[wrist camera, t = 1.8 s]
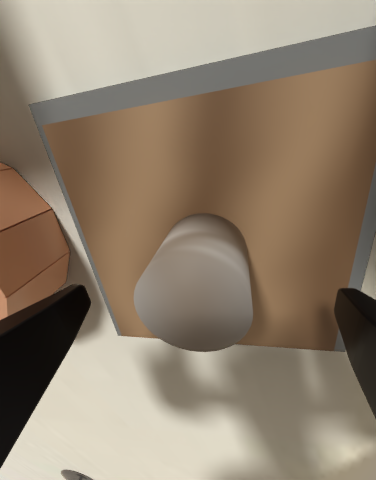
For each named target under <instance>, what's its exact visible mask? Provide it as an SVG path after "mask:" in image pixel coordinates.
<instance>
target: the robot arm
mask: <svg viewBox="0 0 376 480" xmlns="http://www.w3.org/2000/svg"><path fill="white" fill-rule="evenodd" d="M90 305H91V300H90V298H89V295H88V293H87V291H86V288H85V287H84V286H83V285H71V286H69V287H67V288H65V289H63V290H61V291H59V292H57V293H55V294H52V295H50V296H48V297H46V298H44V299H42V300H40V301H38V302H36V303H34V304H32V305H30V306H28V307H26V308H24V309H22V310H20V311H18V312H16V313H14V314H12V315H9V316H7V317H5V318H3V319H1V320H0V468H1V466H2V465H3V463H4V461H5V460H6V458H7V456H8V454H9V453H10V451H11V449H12V447H13V446H14V444H15V442H16V441H17V439H18V437H19V435H20V434H21V432H22V430H23V429H24V427H25V425H26V423H27V422H28V420H29V418H30V416H31V415H32V413H33V411H34V410H35V408H36V406H37V404H38V403H39V401H40V399H41V397H42V396H43V394H44V392H45V391H46V389H47V387H48V385H49V384H50V382H51V380H52V378H53V377H54V375H55V373H56V372H57V370H58V368H59V366H60V365H61V363H62V361H63V359H64V358H65V356H66V354H67V353H68V351H69V349H70V347H71V345H72V344H73V342H74V340H75V338H76V336H77V334H78V331H79V329H80V327H81V325H82V323H83V321H84V319H85V317H86V314H87V312H88V310H89V308H90ZM334 315H335V318H336V321H337V324H338V327H339V330H340V333H341V336H342V339H343V342H344V345H345V348H346V351H347V354H348V357H349V360H350V363H351V365H352V368H353V370H354V372H355V375H356V377H357V379H358V381H359V383H360V386H361V388H362V390H363V392H364V394H365V396H366V399H367V401H368V403H369V405H370V407H371V409H372V412H373V414H374V416H375V418H376V300H375V299H373V298H371V297H370V296H368V295H366V294H364V293H363V292H361V291H359V290H358V289H355V288H340V289H338V291H337V296H336V301H335V306H334Z"/></svg>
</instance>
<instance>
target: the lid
mask: <svg viewBox="0 0 376 480" xmlns="http://www.w3.org/2000/svg"><path fill="white" fill-rule="evenodd" d="M42 127H43V129H44V132H45V135H46V137H47V140H48V143H49V145H50V148H51V151H52V153H53V156H54V159H55V161H56V164H57V166H58V169H59V172H60V174H61V177H62V180H63V182H64V185H65V188H66V190H67V193H68V195H69V198H70V201H71V203H72V206H73V209H74V211H75V214H76V217H77V219H78V222H79V224H80V227H81V230H82V232H83V235H84V238H85V240H86V243H87V246H88V248H89V251H90V254H91V256H92V259H93V261H94V264H95V267H96V269H97V272H98V275H99V277H100V280H101V283H102V285H103V288H104V290H105V293H106V296H107V298H108V301H109V304H110V306H111V309H112V312H113V314H114V317H115V319H116V322H117V325H118V327H119V330H120V333H121V335H122V336H131V337H144V338H158V339H161V340H163V341H165V342H167V343H169V344H171V345H173V346H176V347H178V348H182V349H185V350H190V351H198V352H209V351H217V350H221V349H225V348H227V347H230V346H232V345H234V344H242V345H256V346H270V347H284V348H297V349H311V350H325V351H334V348H335V344H336V339H337V335H338V330H339V327H338V324H337V321H336V318H335V315H334V306H335V301H336V296H337V291H338V289H340V288H348V285H349V281H350V276H351V272H352V267H353V263H354V258H355V254H356V250H357V245H358V241H359V236H360V232H361V227H362V223H363V218H364V214H365V209H366V205H367V200H368V196H369V191H370V187H371V182H372V178H373V173H374V169H375V164H376V60H372V61H367V62H361V63H356V64H351V65H346V66H341V67H336V68H331V69H326V70H321V71H316V72H311V73H305V74H300V75H295V76H290V77H285V78H280V79H275V80H270V81H265V82H260V83H255V84H250V85H244V86H239V87H234V88H229V89H224V90H219V91H214V92H209V93H204V94H199V95H194V96H188V97H183V98H178V99H173V100H168V101H163V102H158V103H153V104H148V105H143V106H138V107H132V108H127V109H122V110H117V111H112V112H107V113H102V114H97V115H92V116H87V117H82V118H77V119H71V120H66V121H61V122H56V123H51V124H46V125H42Z"/></svg>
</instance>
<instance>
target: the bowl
mask: <svg viewBox="0 0 376 480" xmlns="http://www.w3.org/2000/svg"><path fill="white" fill-rule="evenodd" d="M50 209H51V207H50V206H49V205H48V204H47V203H46V202H45V201H44V200H43V199H42V198H41V197H40V196H39V195H38V194H37V193H36V192H35V191H34V189H33V188H32V187H31V186H30V185H29V184H28V183H27V182H26V181H25V180H24V179H23V178H22V177H21V176H20V175H19V174H18V173H17V172H16V171H15V170H14V169H12V167H9V166H7V165H5V164H3V163H1V162H0V320H1V319H3V318H5V317H7V316H9V315H12V314H14V313H16V312H18V311H20V310H22V309H24V308H26V307H28V306H30V305H32V304H34V303H36V302H38V301H40V300H42V299H44V298H46V297H48V296H50V295H52V294H53V293H55V292H56V291H57V290H58V289H59V288H60V287H61V286H62V285H63V284H64V283H66V278H67V271H68V263H69V256H70V252H69V251H70V250H69V247H68V245H67V243H66V240H65V238H64V236H63V233H62V231H61V229H60V226H59V224H58V221H57V219H56V217H55V214H54V212H53V210H50Z"/></svg>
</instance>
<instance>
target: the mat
mask: <svg viewBox="0 0 376 480" xmlns="http://www.w3.org/2000/svg"><path fill="white" fill-rule="evenodd" d="M372 60H376V26H372V27H367V28H363V29H359V30H354V31H350V32H345V33H341V34H337V35H332V36H328V37H323V38H319V39H315V40H310V41H306V42H301V43H297V44H293V45H288V46H284V47H279V48H275V49H271V50H266V51H262V52H258V53H253V54H249V55H244V56H240V57H236V58H231V59H227V60H222V61H218V62H214V63H209V64H205V65H200V66H196V67H192V68H187V69H183V70H178V71H174V72H170V73H165V74H161V75H156V76H152V77H148V78H143V79H139V80H135V81H130V82H126V83H121V84H117V85H113V86H108V87H104V88H99V89H95V90H91V91H86V92H82V93H77V94H73V95H69V96H64V97H60V98H55V99H51V100H47V101H42V102H38V103H33V104H29V107H30V110H31V112H32V115H33V118H34V120H35V123H36V125H37V128H38V130H39V133H40V136H41V138H42V141H43V143H44V146H45V148H46V151H47V154H48V156H49V159H50V161H51V164H52V167H53V169H54V172H55V174H56V177H57V179H58V182H59V185H60V187H61V190H62V192H63V195H64V197H65V200H66V203H67V205H68V208H69V210H70V213H71V215H72V218H73V221H74V223H75V226H76V228H77V231H78V233H79V236H80V239H81V241H82V244H83V246H84V249H85V251H86V254H87V257H88V259H89V262H90V264H91V267H92V269H93V272H94V275H95V277H96V280H97V282H98V285H99V287H100V290H101V293H102V295H103V298H104V300H105V303H106V305H107V308H108V311H109V313H110V316H111V318H112V321H113V324H114V326H115V329H116V331H117V334H118V336H122V335H121V333H120V330H119V327H118V325H117V322H116V319H115V317H114V314H113V312H112V309H111V306H110V304H109V301H108V298H107V296H106V293H105V290H104V288H103V285H102V283H101V280H100V277H99V275H98V272H97V269H96V267H95V264H94V261H93V259H92V256H91V254H90V251H89V248H88V246H87V243H86V240H85V238H84V235H83V232H82V230H81V227H80V224H79V222H78V219H77V217H76V214H75V211H74V209H73V206H72V203H71V201H70V198H69V195H68V193H67V190H66V188H65V185H64V182H63V180H62V177H61V174H60V172H59V169H58V166H57V164H56V161H55V159H54V156H53V153H52V151H51V148H50V145H49V143H48V140H47V137H46V135H45V132H44V129H43V127H42V125H46V124H51V123H56V122H61V121H66V120H71V119H77V118H82V117H87V116H92V115H97V114H102V113H107V112H112V111H117V110H122V109H127V108H132V107H138V106H143V105H148V104H153V103H158V102H163V101H168V100H173V99H178V98H183V97H188V96H194V95H199V94H204V93H209V92H214V91H219V90H224V89H229V88H234V87H239V86H244V85H250V84H255V83H260V82H265V81H270V80H275V79H280V78H285V77H290V76H295V75H300V74H305V73H311V72H316V71H321V70H326V69H331V68H336V67H341V66H346V65H351V64H356V63H361V62H367V61H372ZM375 233H376V164H375V169H374V173H373V178H372V182H371V187H370V191H369V196H368V200H367V205H366V209H365V214H364V218H363V223H362V227H361V232H360V236H359V241H358V245H357V250H356V254H355V258H354V263H353V267H352V272H351V276H350V281H349V285H348V288H355V289H358V290H359V291H361V287H362V283H363V279H364V276H365V272H366V268H367V264H368V260H369V256H370V252H371V248H372V244H373V240H374V236H375ZM345 350H346V348H345V345H344V342H343V339H342V336H341V333H340V330H338V335H337V339H336V344H335V348H334V351H341V352H345Z"/></svg>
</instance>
